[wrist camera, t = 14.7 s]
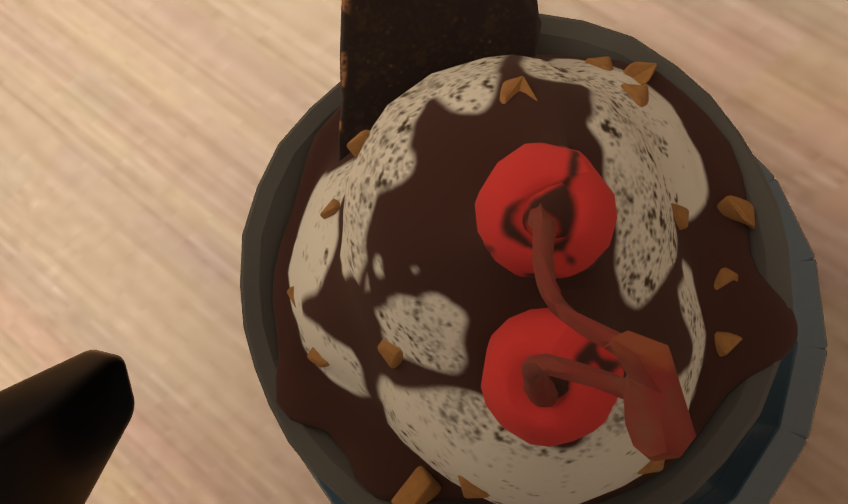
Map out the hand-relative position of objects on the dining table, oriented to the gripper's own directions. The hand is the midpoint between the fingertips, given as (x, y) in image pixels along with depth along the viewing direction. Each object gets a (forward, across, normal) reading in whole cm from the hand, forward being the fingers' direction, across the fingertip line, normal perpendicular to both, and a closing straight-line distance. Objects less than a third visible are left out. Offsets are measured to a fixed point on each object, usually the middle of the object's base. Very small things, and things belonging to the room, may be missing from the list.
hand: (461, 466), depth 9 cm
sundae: (+9, 0, +6) cm, 10 cm away
